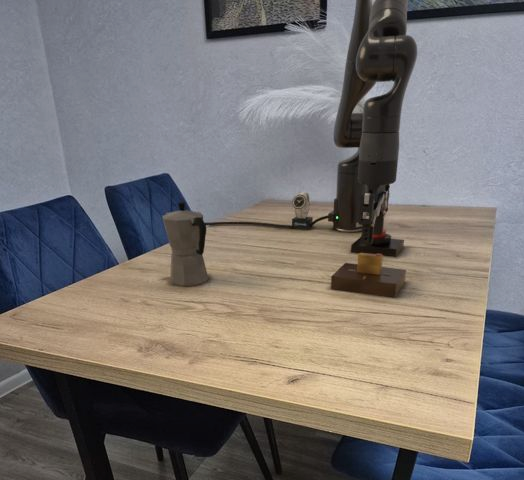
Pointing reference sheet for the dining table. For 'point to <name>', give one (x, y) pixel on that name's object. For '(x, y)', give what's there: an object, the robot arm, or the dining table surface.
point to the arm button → (381, 234)
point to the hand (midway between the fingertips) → (372, 239)
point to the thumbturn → (370, 263)
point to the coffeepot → (186, 246)
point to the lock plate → (368, 280)
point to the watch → (301, 211)
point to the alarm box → (379, 246)
